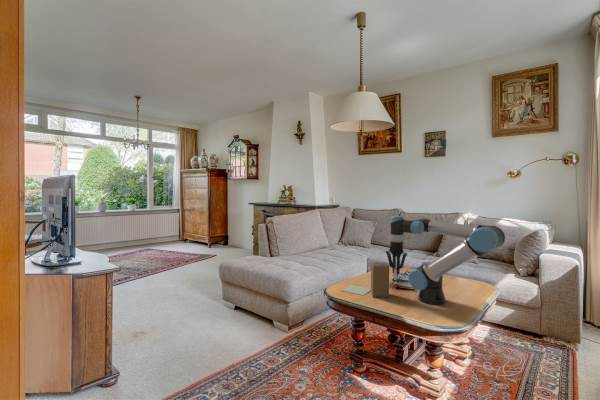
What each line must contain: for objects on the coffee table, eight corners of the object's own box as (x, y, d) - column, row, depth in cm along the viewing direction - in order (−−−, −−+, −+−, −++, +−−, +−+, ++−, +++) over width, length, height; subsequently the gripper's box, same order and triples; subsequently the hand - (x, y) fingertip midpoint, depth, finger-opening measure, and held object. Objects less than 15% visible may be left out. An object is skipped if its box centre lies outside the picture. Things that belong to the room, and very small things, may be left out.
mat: (372, 289, 210) (372, 289, 210) (363, 295, 199) (363, 295, 199) (350, 285, 220) (350, 284, 220) (341, 290, 208) (341, 290, 208)
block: (386, 292, 204) (386, 262, 203) (389, 298, 194) (389, 266, 193) (370, 292, 205) (371, 262, 204) (372, 297, 195) (373, 265, 194)
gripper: (409, 241, 191) (408, 279, 192) (388, 239, 199) (387, 275, 200) (405, 243, 185) (404, 282, 186) (384, 240, 193) (383, 278, 194)
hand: (395, 278), depth 193 cm, fingers closed
